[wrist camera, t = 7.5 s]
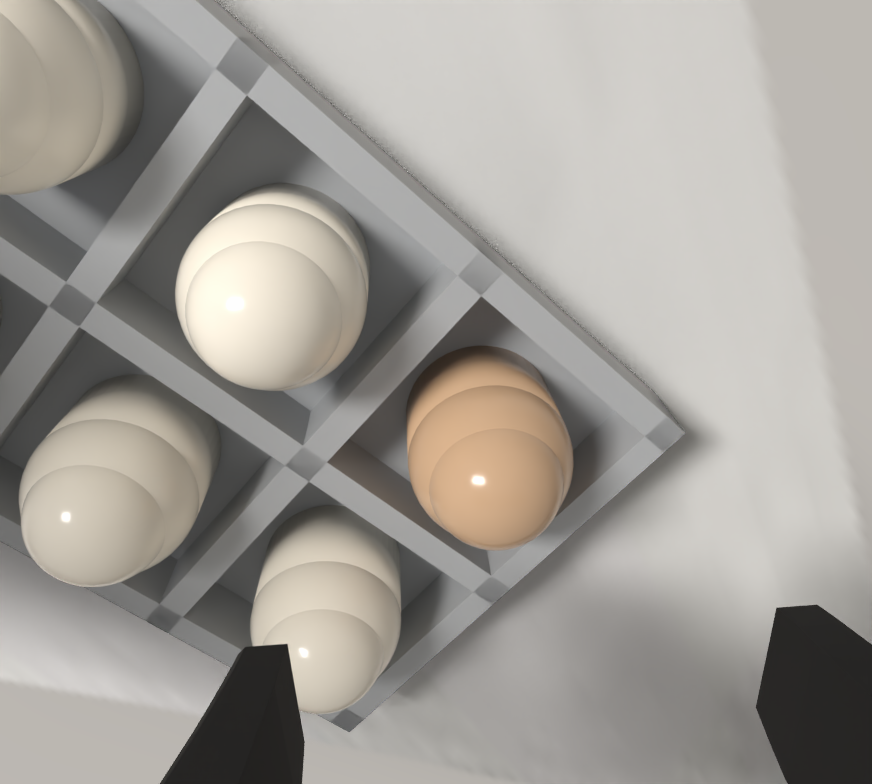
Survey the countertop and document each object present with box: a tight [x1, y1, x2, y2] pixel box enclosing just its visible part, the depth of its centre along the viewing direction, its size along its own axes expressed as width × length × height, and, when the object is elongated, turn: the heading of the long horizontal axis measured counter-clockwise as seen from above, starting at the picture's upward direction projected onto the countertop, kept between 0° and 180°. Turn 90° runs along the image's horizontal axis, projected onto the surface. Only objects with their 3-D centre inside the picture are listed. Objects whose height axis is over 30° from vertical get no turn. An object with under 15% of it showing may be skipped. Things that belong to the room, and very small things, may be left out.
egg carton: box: [0, 0, 685, 732], centre depth 17 cm, size 13×19×2 cm
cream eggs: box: [0, 0, 401, 714], centre depth 16 cm, size 10×16×5 cm, turn 49°
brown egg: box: [406, 346, 574, 551], centre depth 17 cm, size 4×4×5 cm
